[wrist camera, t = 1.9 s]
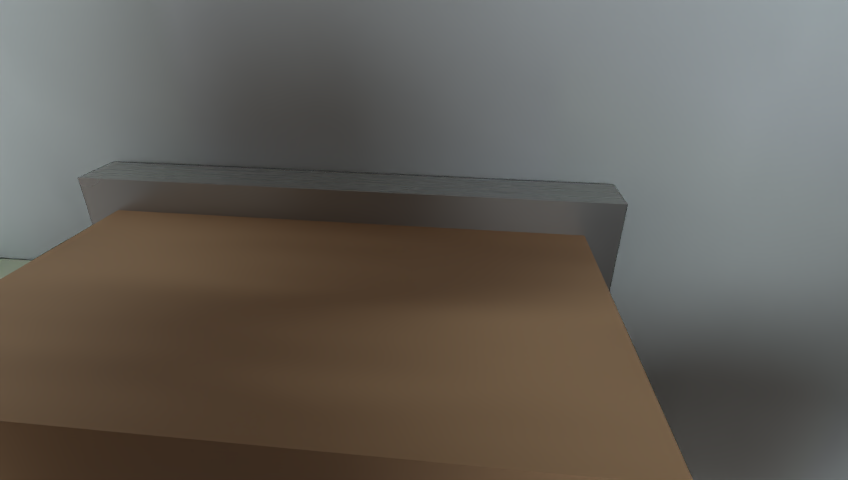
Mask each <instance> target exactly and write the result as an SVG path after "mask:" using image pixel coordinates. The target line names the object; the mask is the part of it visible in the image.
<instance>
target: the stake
mask: <svg viewBox="0 0 848 480" xmlns="http://www.w3.org/2000/svg"><path fill="white" fill-rule="evenodd" d="M78 180H79V183H80V186H81V189H82V192H83V196H84V199H85V202H86V205H87V208H88V211H89V215H90V218H91V221H92V224H93V225H94V224H95V223H97V222H99V221H100V220H102V219H104V218H106V217H107V216H109V215H111V214H112V213H114V212H116V211H118V210H125V211H143V212H161V213H180V214H198V215H216V216H235V217H253V218H271V219H290V220H308V221H327V222H345V223H363V224H382V225H400V226H418V227H437V228H455V229H473V230H492V231H510V232H528V233H547V234H565V235H584V236H585V238H586V240H587V242H588V245H589V247H590V249H591V251H592V254H593V256H594V258H595V260H596V263H597V265H598V267H599V269H600V272H601V274H602V276H603V278H604V281H605V283H606V285H607V287H608V290H609V291H610V286H611V281H612V277H613V272H614V267H615V262H616V258H617V253H618V248H619V244H620V239H621V234H622V230H623V225H624V220H625V215H626V211H627V206H628V204H627V203H626V201H625V200H624V199H623V197H622V196H621V194H620V193H619V192H618V190H617V189H616V187H615V186H614V185H611V184H589V183H567V182H546V181H524V180H502V179H480V178H458V177H436V176H414V175H392V174H370V173H349V172H327V171H305V170H283V169H261V168H239V167H217V166H195V165H173V164H152V163H130V162H112V163H110V164H107V165H105V166H103V167H101V168H98V169H96V170H94V171H92V172H89V173H87V174H85V175H83V176H80V177H78Z"/></svg>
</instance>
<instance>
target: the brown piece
mask: <svg viewBox="0 0 848 480" xmlns="http://www.w3.org/2000/svg"><path fill="white" fill-rule="evenodd" d="M0 480H693V479H692V476H691V474H690V472H689V470H688V467H687V465H686V463H685V461H684V458H683V456H682V454H681V452H680V449H679V447H678V445H677V443H676V440H675V438H674V436H673V434H672V431H671V429H670V427H669V425H668V422H667V420H666V418H665V416H664V413H663V411H662V409H661V407H660V404H659V402H658V400H657V398H656V395H655V393H654V391H653V389H652V386H651V384H650V382H649V380H648V377H647V375H646V373H645V371H644V368H643V366H642V364H641V362H640V359H639V357H638V355H637V353H636V350H635V348H634V346H633V344H632V341H631V339H630V337H629V335H628V332H627V330H626V328H625V326H624V323H623V321H622V319H621V317H620V314H619V312H618V310H617V308H616V305H615V303H614V301H613V299H612V296H611V294H610V292H609V290H608V287H607V285H606V283H605V281H604V278H603V276H602V274H601V272H600V269H599V267H598V265H597V263H596V260H595V258H594V256H593V254H592V251H591V249H590V247H589V245H588V242H587V240H586V238H585V236H584V235H565V234H547V233H528V232H510V231H492V230H473V229H455V228H437V227H418V226H400V225H382V224H363V223H345V222H327V221H308V220H290V219H271V218H253V217H235V216H216V215H198V214H180V213H161V212H143V211H125V210H118V211H116V212H114V213H112V214H111V215H109V216H107V217H106V218H104V219H102V220H100V221H99V222H97V223H95V224H94V225H92V226H90V227H88V228H87V229H85V230H83V231H82V232H80V233H78V234H77V235H75V236H73V237H71V238H70V239H68V240H66V241H65V242H63V243H61V244H59V245H58V246H56V247H54V248H53V249H51V250H49V251H47V252H46V253H44V254H42V255H41V256H39V257H37V258H36V259H34V260H32V261H30V262H29V263H27V264H25V265H24V266H22V267H20V268H18V269H17V270H15V271H13V272H12V273H10V274H8V275H6V276H5V277H3V278H1V279H0Z"/></svg>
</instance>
